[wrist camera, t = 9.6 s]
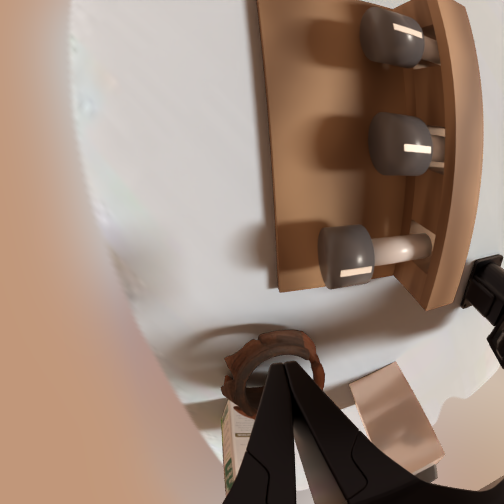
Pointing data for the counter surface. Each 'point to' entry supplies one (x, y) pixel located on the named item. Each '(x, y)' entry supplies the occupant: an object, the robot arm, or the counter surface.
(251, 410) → the pottery mug
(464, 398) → the counter surface
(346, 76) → the panel
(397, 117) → the knob middle
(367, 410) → the soap dispenser
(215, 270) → the counter surface
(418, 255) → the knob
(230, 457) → the syrup box
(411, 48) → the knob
